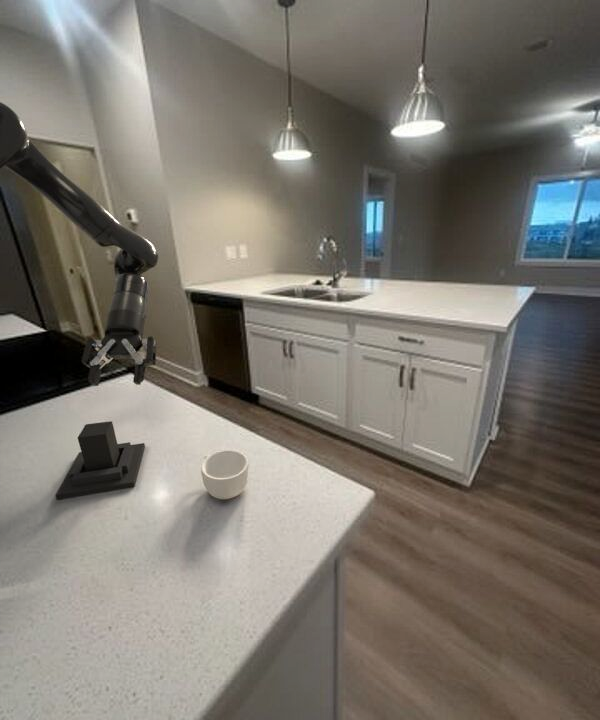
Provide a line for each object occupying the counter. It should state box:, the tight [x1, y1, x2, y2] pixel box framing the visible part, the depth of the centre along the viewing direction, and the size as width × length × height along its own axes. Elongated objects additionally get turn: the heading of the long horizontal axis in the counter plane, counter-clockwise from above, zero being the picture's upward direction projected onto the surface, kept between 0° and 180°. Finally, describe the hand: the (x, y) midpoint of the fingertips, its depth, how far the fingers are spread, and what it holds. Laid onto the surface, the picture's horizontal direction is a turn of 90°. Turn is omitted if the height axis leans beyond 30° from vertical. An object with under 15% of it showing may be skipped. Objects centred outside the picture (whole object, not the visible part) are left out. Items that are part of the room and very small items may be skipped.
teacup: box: [200, 449, 250, 500], centre depth 59 cm, size 10×8×5 cm
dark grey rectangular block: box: [77, 420, 120, 472], centre depth 62 cm, size 4×4×8 cm
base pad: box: [55, 442, 146, 501], centre depth 63 cm, size 12×12×2 cm
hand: (115, 384), depth 71 cm, fingers open, 8 cm apart
